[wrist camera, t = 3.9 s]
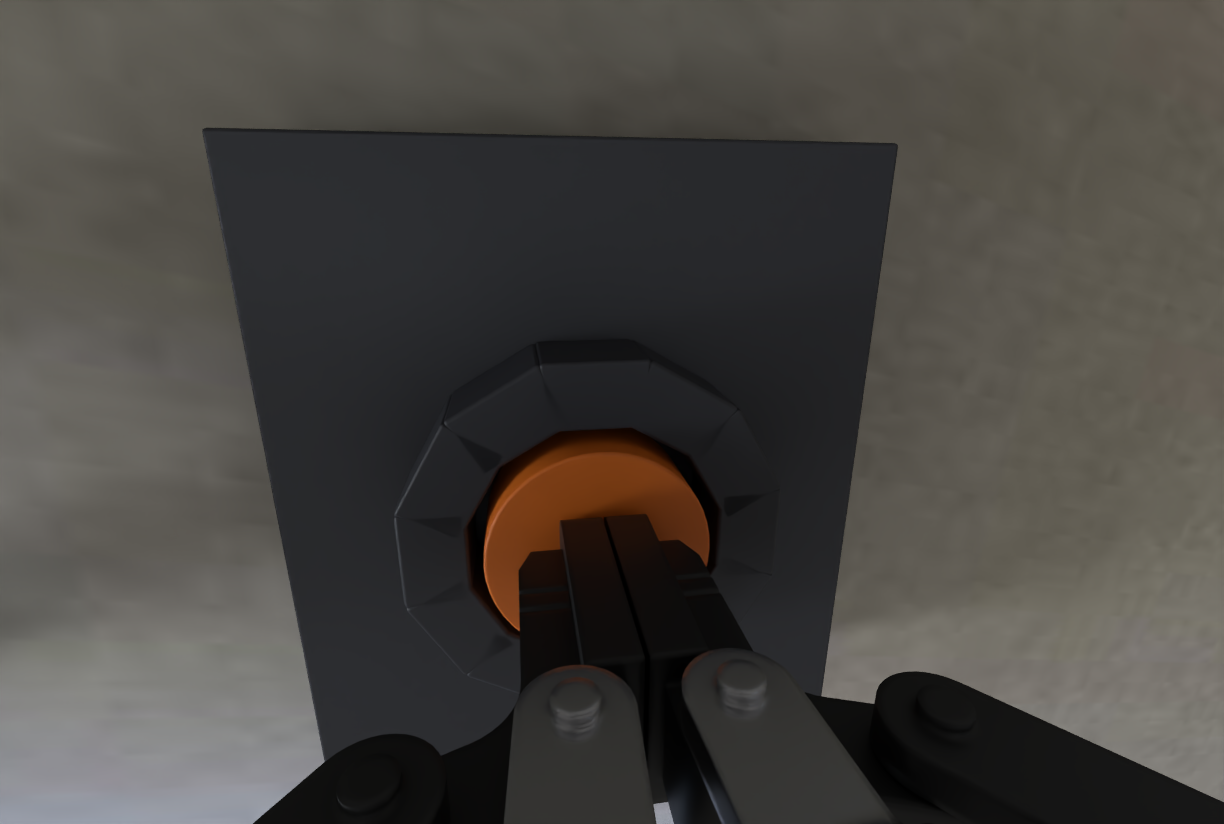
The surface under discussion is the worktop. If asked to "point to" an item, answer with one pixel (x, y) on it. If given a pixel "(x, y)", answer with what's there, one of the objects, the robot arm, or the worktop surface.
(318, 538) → the push button base
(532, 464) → the power button
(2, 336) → the worktop surface
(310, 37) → the worktop surface
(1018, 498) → the worktop surface
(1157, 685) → the worktop surface
